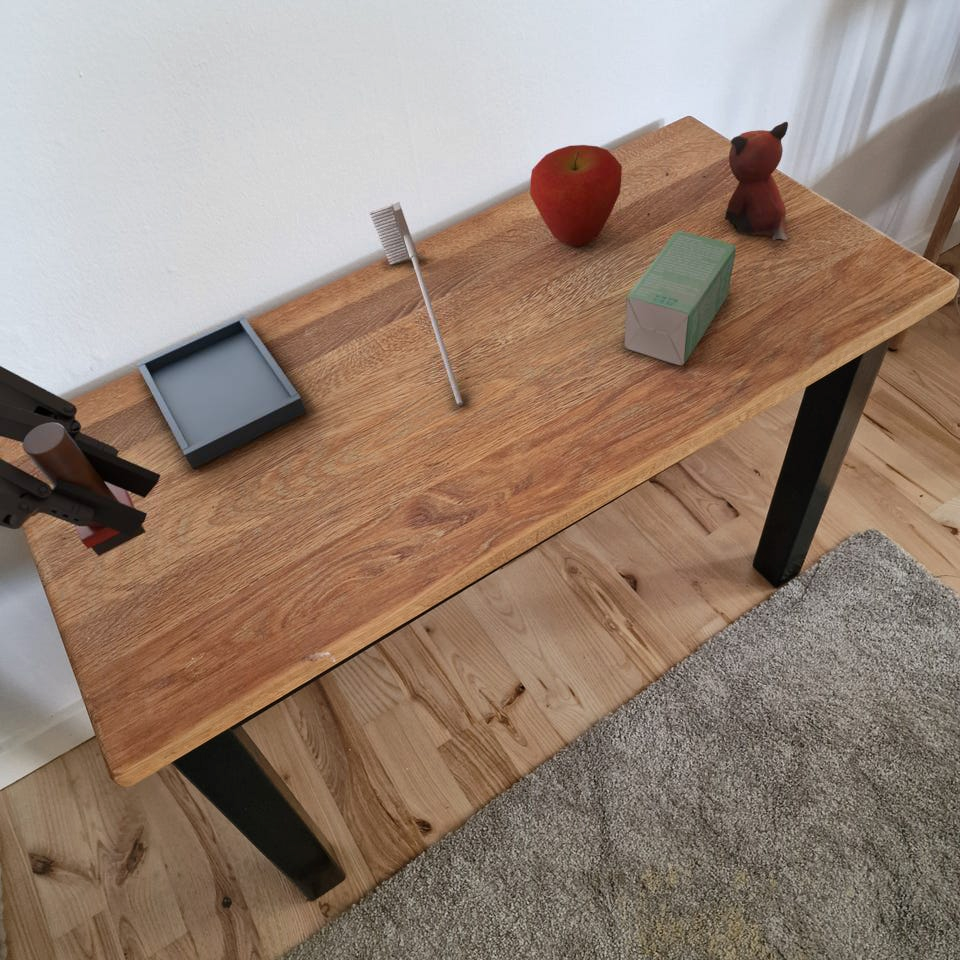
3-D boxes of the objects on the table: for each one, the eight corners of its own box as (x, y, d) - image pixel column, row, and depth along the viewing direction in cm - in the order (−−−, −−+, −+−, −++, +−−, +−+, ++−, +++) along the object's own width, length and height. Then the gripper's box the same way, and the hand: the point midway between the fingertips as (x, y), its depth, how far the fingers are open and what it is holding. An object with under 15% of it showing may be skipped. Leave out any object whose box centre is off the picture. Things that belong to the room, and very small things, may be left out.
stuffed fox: (762, 261, 100) (780, 171, 90) (704, 217, 106) (715, 128, 97) (812, 238, 101) (834, 147, 92) (752, 196, 108) (767, 108, 99)
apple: (602, 205, 110) (603, 119, 101) (632, 251, 104) (637, 162, 94) (523, 226, 109) (516, 140, 100) (548, 273, 103) (544, 186, 93)
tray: (306, 412, 92) (301, 397, 90) (192, 468, 88) (184, 455, 87) (248, 328, 102) (242, 314, 100) (144, 376, 98) (136, 362, 97)
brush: (440, 435, 94) (421, 391, 86) (389, 264, 107) (369, 211, 99) (472, 425, 94) (455, 379, 86) (417, 255, 107) (398, 201, 99)
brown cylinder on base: (149, 532, 67) (79, 438, 58) (96, 559, 66) (17, 467, 57) (119, 467, 72) (51, 371, 62) (70, 491, 70) (-7, 397, 61)
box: (730, 294, 97) (739, 240, 91) (684, 368, 90) (690, 315, 84) (671, 278, 100) (675, 225, 94) (622, 349, 93) (624, 296, 87)
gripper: (-155, 312, 60) (155, 449, 71) (-289, 487, 50) (96, 614, 62) (-139, 246, 55) (191, 404, 67) (-282, 425, 46) (133, 575, 57)
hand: (145, 505), depth 64 cm, fingers closed on brown cylinder on base, 3 cm apart
